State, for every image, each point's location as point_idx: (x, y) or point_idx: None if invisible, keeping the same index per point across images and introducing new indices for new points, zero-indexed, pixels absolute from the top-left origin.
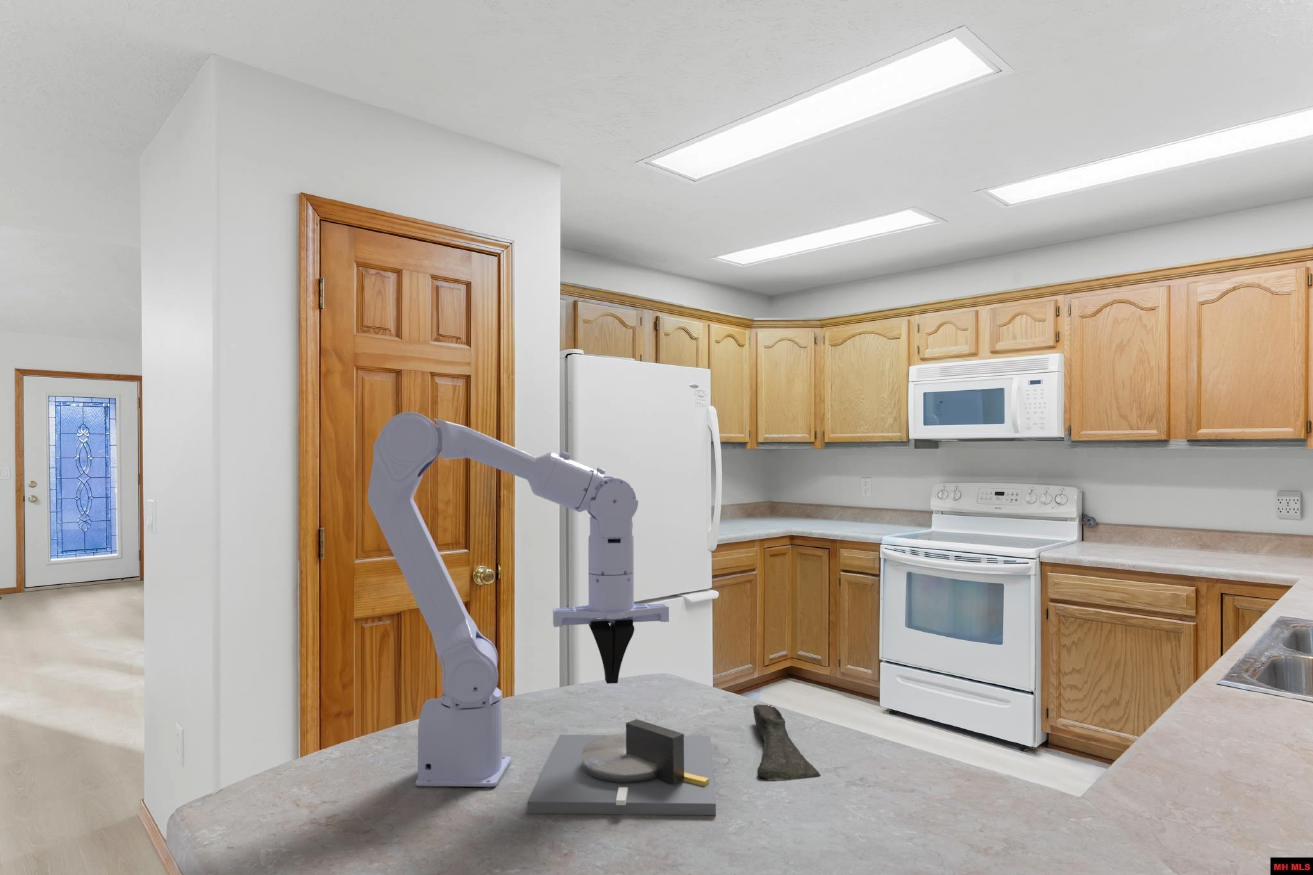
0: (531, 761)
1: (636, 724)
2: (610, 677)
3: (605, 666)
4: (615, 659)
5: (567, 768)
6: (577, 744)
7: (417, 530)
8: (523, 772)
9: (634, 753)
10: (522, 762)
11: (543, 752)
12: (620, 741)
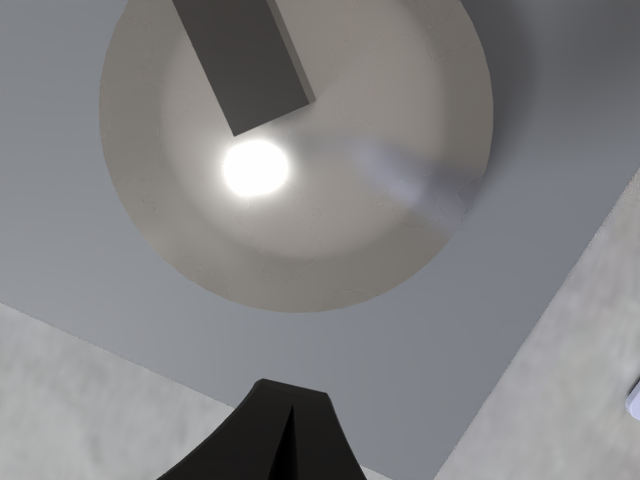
0: (558, 378)
1: (265, 52)
2: (309, 402)
3: (353, 454)
4: (260, 464)
5: (518, 195)
6: (400, 387)
7: None
8: (617, 304)
9: (295, 50)
10: (588, 382)
11: (494, 430)
12: (291, 233)
